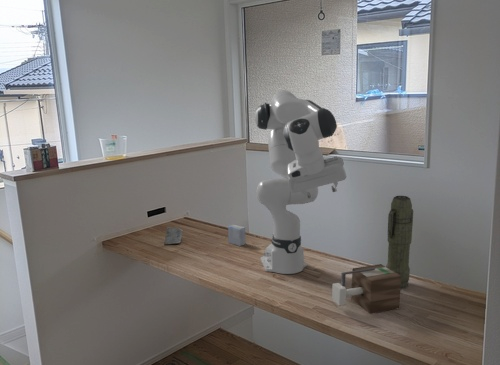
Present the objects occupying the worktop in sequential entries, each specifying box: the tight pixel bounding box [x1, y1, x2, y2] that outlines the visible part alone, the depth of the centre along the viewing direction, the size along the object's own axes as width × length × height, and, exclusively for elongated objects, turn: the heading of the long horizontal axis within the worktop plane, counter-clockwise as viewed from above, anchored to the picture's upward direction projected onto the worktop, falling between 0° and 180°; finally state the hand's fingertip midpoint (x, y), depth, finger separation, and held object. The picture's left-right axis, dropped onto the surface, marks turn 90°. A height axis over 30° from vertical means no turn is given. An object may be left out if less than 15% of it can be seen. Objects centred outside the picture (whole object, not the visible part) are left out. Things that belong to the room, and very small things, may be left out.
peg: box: [331, 268, 375, 307], centre depth 167 cm, size 5×16×10 cm, turn 109°
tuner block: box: [350, 263, 402, 315], centre depth 170 cm, size 12×12×12 cm
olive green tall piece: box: [385, 195, 414, 290], centre depth 185 cm, size 9×12×35 cm
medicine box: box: [227, 224, 247, 247], centre depth 236 cm, size 8×4×9 cm, turn 49°
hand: (321, 194), depth 172 cm, fingers open, 8 cm apart
